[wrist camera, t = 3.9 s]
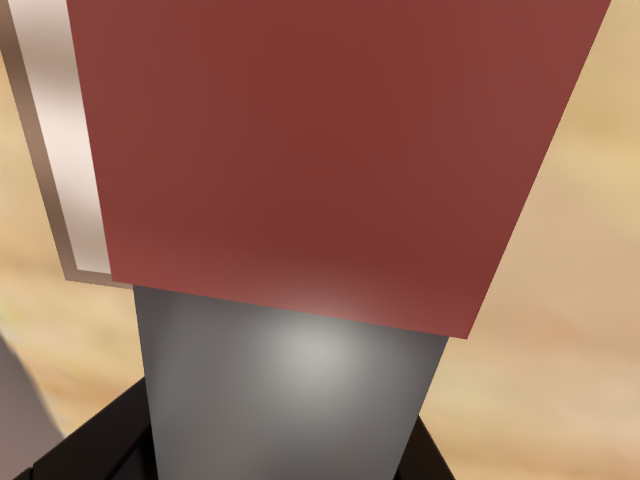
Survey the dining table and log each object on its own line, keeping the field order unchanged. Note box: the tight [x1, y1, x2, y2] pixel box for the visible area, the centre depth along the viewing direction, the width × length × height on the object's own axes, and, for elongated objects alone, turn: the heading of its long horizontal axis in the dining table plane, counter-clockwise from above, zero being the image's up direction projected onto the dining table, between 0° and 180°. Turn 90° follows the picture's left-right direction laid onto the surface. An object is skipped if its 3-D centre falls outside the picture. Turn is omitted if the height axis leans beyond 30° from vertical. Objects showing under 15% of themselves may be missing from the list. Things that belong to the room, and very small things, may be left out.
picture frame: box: [0, 0, 133, 289], centre depth 16 cm, size 20×13×1 cm, turn 175°
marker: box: [66, 0, 611, 480], centre depth 8 cm, size 15×4×4 cm, turn 173°
